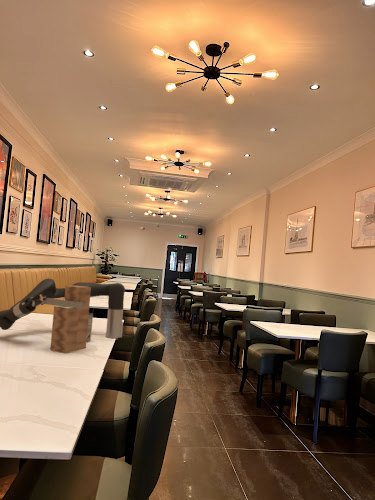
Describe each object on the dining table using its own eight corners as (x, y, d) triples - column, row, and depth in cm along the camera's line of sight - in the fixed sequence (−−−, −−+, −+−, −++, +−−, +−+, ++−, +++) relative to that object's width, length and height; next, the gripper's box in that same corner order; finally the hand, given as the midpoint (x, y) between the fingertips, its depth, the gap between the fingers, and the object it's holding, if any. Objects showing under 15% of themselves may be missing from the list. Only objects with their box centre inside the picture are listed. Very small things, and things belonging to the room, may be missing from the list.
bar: (44, 304, 185) (45, 298, 185) (49, 303, 188) (49, 297, 188) (78, 308, 176) (79, 302, 176) (82, 308, 179) (83, 302, 179)
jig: (50, 350, 179) (55, 286, 180) (70, 345, 193) (75, 285, 194) (65, 353, 175) (71, 287, 176) (85, 347, 189) (90, 287, 190)
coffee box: (71, 340, 203) (73, 312, 204) (79, 338, 209) (81, 311, 210) (83, 343, 199) (85, 314, 200) (91, 341, 205) (93, 313, 206)
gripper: (11, 302, 186) (33, 289, 181) (32, 300, 199) (53, 288, 194) (15, 315, 185) (37, 303, 179) (36, 313, 198) (57, 301, 192)
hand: (45, 295), depth 187 cm, fingers open, 8 cm apart
